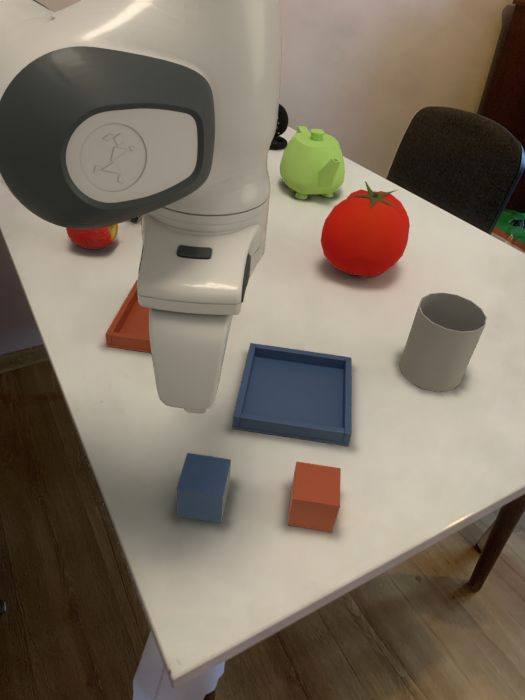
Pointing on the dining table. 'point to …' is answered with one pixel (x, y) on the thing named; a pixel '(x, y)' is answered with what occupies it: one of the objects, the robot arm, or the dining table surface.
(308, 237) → the dining table surface
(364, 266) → the tomato
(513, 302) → the dining table surface
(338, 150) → the teapot
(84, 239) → the apple
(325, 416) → the blue tray
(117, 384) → the dining table surface
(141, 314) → the rust tray
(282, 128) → the webcam
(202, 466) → the blue block
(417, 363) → the cup
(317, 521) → the rust block
